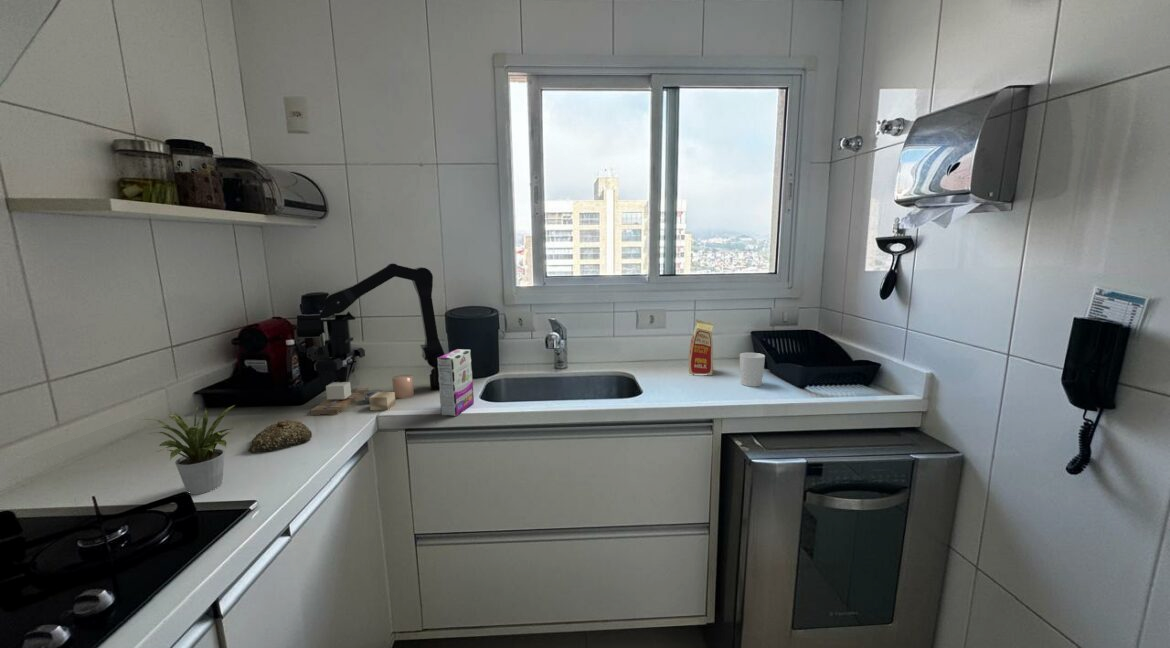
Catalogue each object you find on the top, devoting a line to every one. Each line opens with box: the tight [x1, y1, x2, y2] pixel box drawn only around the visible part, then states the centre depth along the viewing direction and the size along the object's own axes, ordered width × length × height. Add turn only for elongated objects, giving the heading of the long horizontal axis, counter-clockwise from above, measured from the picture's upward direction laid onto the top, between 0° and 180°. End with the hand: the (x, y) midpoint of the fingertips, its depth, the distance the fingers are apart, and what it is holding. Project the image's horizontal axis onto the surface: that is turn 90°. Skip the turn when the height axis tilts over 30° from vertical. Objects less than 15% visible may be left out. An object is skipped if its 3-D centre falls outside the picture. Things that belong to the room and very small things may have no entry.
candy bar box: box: [437, 348, 475, 417], centre depth 126 cm, size 11×5×16 cm, turn 168°
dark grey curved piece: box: [364, 389, 384, 404], centre depth 135 cm, size 5×5×3 cm
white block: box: [325, 381, 352, 400], centre depth 132 cm, size 4×5×4 cm
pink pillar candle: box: [391, 374, 415, 399], centre depth 140 cm, size 6×6×6 cm
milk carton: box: [688, 318, 716, 376], centre depth 164 cm, size 9×9×20 cm
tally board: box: [310, 387, 369, 416], centre depth 133 cm, size 20×7×2 cm, turn 3°
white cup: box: [739, 351, 766, 388], centre depth 149 cm, size 8×8×10 cm
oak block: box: [369, 391, 397, 411], centre depth 129 cm, size 5×5×4 cm
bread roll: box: [247, 419, 313, 454], centre depth 106 cm, size 13×12×5 cm
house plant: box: [137, 403, 236, 495], centre depth 83 cm, size 14×14×16 cm
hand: (343, 386), depth 135 cm, fingers closed
